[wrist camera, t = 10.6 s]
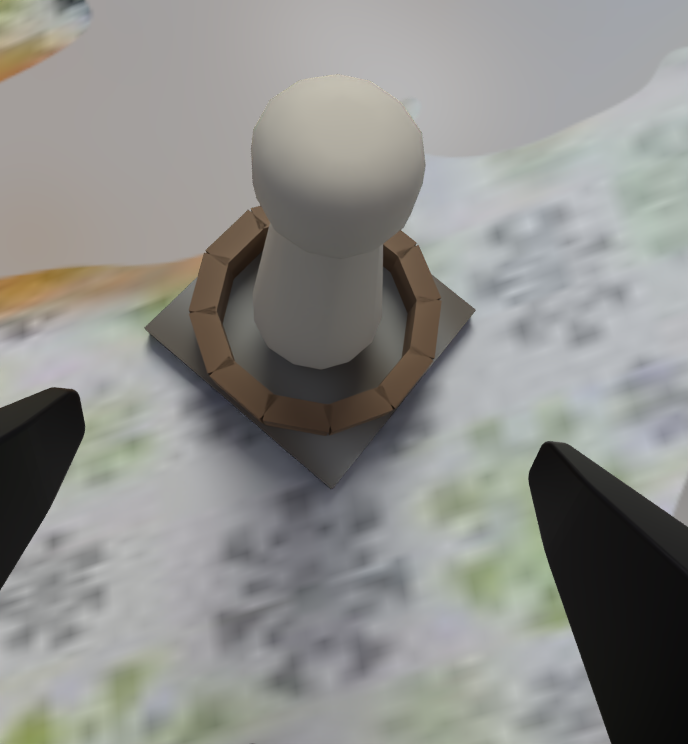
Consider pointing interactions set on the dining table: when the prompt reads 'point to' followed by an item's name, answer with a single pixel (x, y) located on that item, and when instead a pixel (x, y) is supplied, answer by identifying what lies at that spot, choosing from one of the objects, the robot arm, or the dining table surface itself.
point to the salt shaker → (330, 213)
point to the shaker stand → (299, 383)
